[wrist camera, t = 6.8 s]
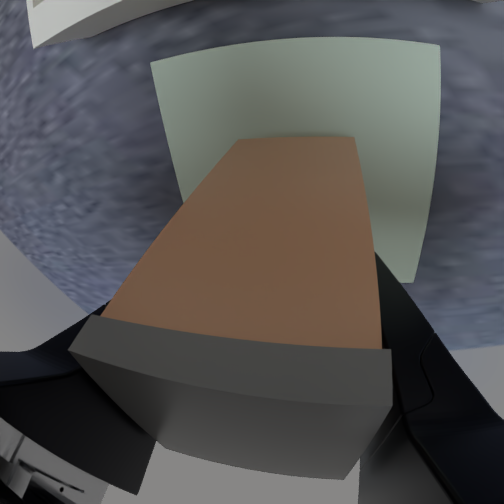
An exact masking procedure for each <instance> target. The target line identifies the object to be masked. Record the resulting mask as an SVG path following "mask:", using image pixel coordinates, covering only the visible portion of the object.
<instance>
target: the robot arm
mask: <svg viewBox="0 0 504 504" xmlns="http://www.w3.org/2000/svg"><path fill="white" fill-rule="evenodd" d="M374 252H375V251H374ZM375 261H376V270H377V280H378V291H379V303H380V317H381V336H382V349H391V358H392V407H391V409H390V411H389V413H388V414H387V416H386V418H385V419H384V421H383V423H382V424H381V426H380V428H379V429H378V431H377V432H376V434H375V436H374V437H373V439H372V440H371V442H370V443H369V445H368V446H367V448H366V449H365V451H364V452H363V454H362V455H361V457H360V475H359V476H360V477H359V495H358V504H504V420H503V419H502V418H501V417H500V416H499V415H498V414H497V413H496V412H495V411H494V410H493V409H492V408H491V406H490V405H489V403H488V402H487V401H486V399H485V398H484V397H483V396H482V394H481V393H480V392H479V390H478V389H477V388H476V387H475V385H474V384H473V383H472V382H471V381H470V379H469V378H468V376H467V375H466V374H465V373H464V371H463V370H462V369H461V367H460V366H459V365H458V364H457V362H456V361H455V360H454V358H453V357H452V356H451V354H450V353H449V351H448V350H447V348H446V347H445V346H444V344H443V343H442V341H441V340H440V338H439V337H438V335H437V334H436V333H434V330H433V328H432V327H431V325H430V324H429V322H428V321H427V320H426V318H425V317H424V315H423V314H422V312H421V311H420V310H419V308H418V307H417V306H416V304H415V303H414V301H413V300H412V299H411V297H410V296H409V295H408V293H407V292H406V291H405V289H404V288H403V286H402V285H401V284H400V283H399V281H398V280H397V279H396V277H395V276H394V275H393V273H392V272H391V271H390V269H389V268H388V267H387V266H386V264H385V263H384V262H383V261H382V259H381V258H380V257H379V255H378V254H377V253H376V252H375ZM111 300H112V299H111ZM111 300H110V301H111ZM110 301H108V302H107V303H106V305H105V304H104V305H102V306H101V307H100V308H98V309H97V310H95V311H94V312H92V313H91V314H93V315H97V316H101V314H102V313H103V311H104V310H105V308H106V307H107V305H108V304H109V302H110ZM91 314H89V315H88V316H86V317H85V318H84V319H82V320H80V321H79V322H77V323H76V324H74V325H72V326H71V327H69V328H68V329H66V330H64V331H63V332H61V333H59V334H58V335H56V336H54V337H53V338H51V339H49V340H48V341H46V342H45V343H43V344H41V345H40V346H38V347H36V348H34V349H31V350H28V351H22V352H0V504H101V501H102V499H103V497H104V494H105V492H106V490H107V487H108V485H109V484H111V485H113V486H116V487H118V488H120V489H122V490H125V491H127V492H129V493H132V494H134V495H137V494H138V492H139V489H140V486H141V484H142V481H143V478H144V475H145V472H146V468H147V466H148V463H149V460H150V457H151V454H152V451H153V449H154V445H155V443H156V440H155V439H154V438H153V437H152V436H150V435H149V434H148V433H147V432H146V431H145V430H144V429H143V428H141V427H140V426H139V425H138V424H137V423H136V422H135V421H134V420H133V419H132V418H131V417H130V416H129V415H127V414H126V413H125V412H124V411H123V410H122V409H121V408H120V407H119V406H118V405H117V404H116V403H115V402H114V401H113V400H112V399H111V398H110V397H109V396H108V395H107V394H106V393H105V392H104V390H103V389H102V388H101V387H100V386H99V385H98V384H97V383H96V382H95V381H94V380H93V379H92V378H91V376H90V375H89V374H88V373H87V372H86V371H85V370H84V369H83V367H82V366H81V365H80V364H79V363H78V362H77V360H76V359H75V358H74V357H73V356H72V354H71V353H70V352H69V351H68V349H69V347H70V346H71V344H72V343H73V341H74V340H75V338H76V337H77V335H78V334H79V332H80V331H81V329H82V328H83V326H84V325H85V323H86V322H87V320H88V319H89V317H90V316H91Z"/></svg>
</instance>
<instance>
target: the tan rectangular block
mask: <svg viewBox="0 0 504 504" xmlns="http://www.w3.org/2000/svg"><path fill="white" fill-rule="evenodd" d="M68 351H69V352H70V353H71V354H72V356H73V357H74V358H75V359H76V360H77V362H78V363H79V364H80V365H81V366H82V367H83V369H84V370H85V371H86V372H87V373H88V374H89V375H90V376H91V378H92V379H93V380H94V381H95V382H96V383H97V384H98V385H99V386H100V387H101V388H102V389H103V390H104V392H105V393H106V394H107V395H108V396H109V397H110V398H111V399H112V400H113V401H114V402H115V403H116V404H117V405H118V406H119V407H120V408H121V409H122V410H123V411H124V412H125V413H126V414H127V415H129V416H130V417H131V418H132V419H133V420H134V421H135V422H136V423H137V424H138V425H139V426H140V427H141V428H143V429H144V430H145V431H146V432H147V433H148V434H149V435H150V436H152V437H153V438H154V439H155V440H156V441H158V442H159V443H160V444H161V445H162V446H163V447H165V448H166V449H169V450H172V451H176V452H179V453H182V454H186V455H189V456H193V457H197V458H201V459H204V460H208V461H212V462H217V463H221V464H226V465H230V466H235V467H240V468H245V469H250V470H257V471H262V472H268V473H275V474H283V475H290V476H298V477H309V478H321V479H338V480H344V479H345V477H346V476H347V475H348V473H349V472H350V471H351V469H352V468H353V467H354V465H355V464H356V462H357V461H358V460H359V458H360V457H361V455H362V454H363V452H364V451H365V449H366V448H367V446H368V445H369V443H370V442H371V440H372V439H373V437H374V436H375V434H376V432H377V431H378V429H379V428H380V426H381V424H382V423H383V421H384V419H385V418H386V416H387V414H388V413H389V411H390V409H391V407H392V358H391V349H382V336H381V317H380V303H379V291H378V280H377V270H376V261H375V252H374V244H373V237H372V230H371V223H370V216H369V210H368V204H367V198H366V192H365V187H364V181H363V176H362V171H361V166H360V161H359V156H358V151H357V147H356V142H355V138H354V137H273V138H253V139H238V140H237V141H236V142H235V144H234V145H233V146H232V147H231V148H230V149H229V150H228V151H227V153H226V154H225V155H224V156H223V157H222V158H221V159H220V161H219V162H218V163H217V164H216V165H215V166H214V168H213V169H212V170H211V171H210V172H209V173H208V175H207V176H206V177H205V178H204V179H203V180H202V182H201V183H200V184H199V185H198V186H197V188H196V189H195V190H194V191H193V192H192V194H191V195H190V196H189V197H188V199H187V200H186V201H185V202H184V203H183V205H182V206H181V207H180V208H179V210H178V211H177V212H176V213H175V215H174V216H173V217H172V218H171V220H170V221H169V222H168V224H167V225H166V226H165V227H164V229H163V230H162V231H161V233H160V234H159V235H158V236H157V238H156V239H155V240H154V242H153V243H152V244H151V246H150V247H149V248H148V250H147V251H146V252H145V254H144V255H143V256H142V258H141V259H140V260H139V262H138V263H137V264H136V266H135V267H134V268H133V270H132V271H131V273H130V274H129V275H128V277H127V278H126V280H125V281H124V282H123V284H122V285H121V287H120V288H119V289H118V291H117V292H116V294H115V295H114V297H113V298H112V300H111V301H110V302H109V304H108V305H107V307H106V308H105V310H104V311H103V313H102V314H101V316H97V315H93V314H91V316H90V317H89V319H88V320H87V322H86V323H85V325H84V326H83V328H82V329H81V331H80V332H79V334H78V335H77V337H76V338H75V340H74V341H73V343H72V344H71V346H70V347H69V349H68Z"/></svg>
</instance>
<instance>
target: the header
mask: <svg viewBox="0 0 504 504" xmlns="http://www.w3.org/2000/svg"><path fill="white" fill-rule="evenodd" d="M190 1H194V0H27V9H28V17H29V24H30V31H31V37H32V43H33V49H34V48H38V47H43V46H47V45H51V44H56V43H61V42H66V41H71V40H77V39H83V38H89V37H93V36H95V35H97V34H99V33H102V32H104V31H106V30H108V29H111V28H113V27H116V26H118V25H120V24H123V23H125V22H128V21H131V20H133V19H136V18H139V17H141V16H144V15H147V14H150V13H153V12H156V11H159V10H162V9H165V8H169V7H172V6H175V5H179V4H182V3H186V2H190ZM472 1H476V2H479V3H488V2H496V1H504V0H472Z"/></svg>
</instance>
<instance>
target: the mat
mask: <svg viewBox="0 0 504 504" xmlns="http://www.w3.org/2000/svg"><path fill="white" fill-rule="evenodd" d="M150 64H151V69H152V74H153V79H154V84H155V88H156V93H157V97H158V102H159V107H160V111H161V115H162V120H163V124H164V128H165V133H166V137H167V141H168V145H169V149H170V153H171V157H172V161H173V165H174V169H175V173H176V177H177V181H178V185H179V189H180V192H181V196H182V200H183V203H184V202H185V201H186V200H187V199H188V197H189V196H190V195H191V194H192V192H193V191H194V190H195V189H196V188H197V186H198V185H199V184H200V183H201V182H202V180H203V179H204V178H205V177H206V176H207V175H208V173H209V172H210V171H211V170H212V169H213V168H214V166H215V165H216V164H217V163H218V162H219V161H220V159H221V158H222V157H223V156H224V155H225V154H226V153H227V151H228V150H229V149H230V148H231V147H232V146H233V145H234V144H235V142H236V141H237V140H238V139H253V138H273V137H354V138H355V142H356V147H357V151H358V156H359V161H360V166H361V171H362V176H363V181H364V187H365V192H366V198H367V204H368V210H369V216H370V223H371V230H372V237H373V244H374V251H375V252H376V253H377V254H378V255H379V257H380V258H381V259H382V261H383V262H384V263H385V264H386V266H387V267H388V268H389V269H390V271H391V272H392V273H393V275H394V276H395V277H396V279H397V280H398V281H399V283H413V282H414V278H415V275H416V271H417V267H418V262H419V258H420V254H421V249H422V245H423V240H424V235H425V230H426V225H427V220H428V215H429V209H430V203H431V197H432V190H433V183H434V176H435V167H436V159H437V149H438V137H439V122H440V99H441V62H440V45H434V44H427V43H420V42H412V41H404V40H394V39H381V38H364V37H308V38H290V39H277V40H267V41H258V42H249V43H242V44H235V45H229V46H223V47H217V48H211V49H206V50H201V51H196V52H191V53H187V54H182V55H178V56H174V57H170V58H166V59H162V60H158V61H155V62H151V63H150Z"/></svg>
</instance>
